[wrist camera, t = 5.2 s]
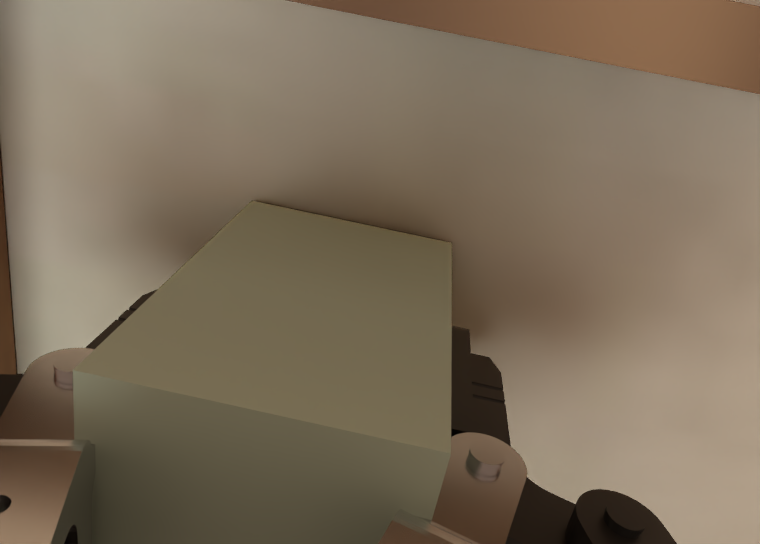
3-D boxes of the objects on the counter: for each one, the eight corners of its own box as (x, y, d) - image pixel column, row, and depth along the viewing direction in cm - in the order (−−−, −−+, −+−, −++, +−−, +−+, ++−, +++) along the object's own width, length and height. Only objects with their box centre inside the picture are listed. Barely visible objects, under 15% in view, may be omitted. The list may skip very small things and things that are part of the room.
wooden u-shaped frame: (844, 43, 11) (1032, 59, 8) (587, 600, 17) (624, 758, 14) (-71, -136, 12) (-308, -201, 8) (-10, 468, 18) (-129, 587, 14)
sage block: (451, 242, 13) (451, 453, 7) (410, 409, 15) (380, 696, 9) (252, 200, 14) (72, 369, 7) (234, 370, 15) (78, 626, 9)
